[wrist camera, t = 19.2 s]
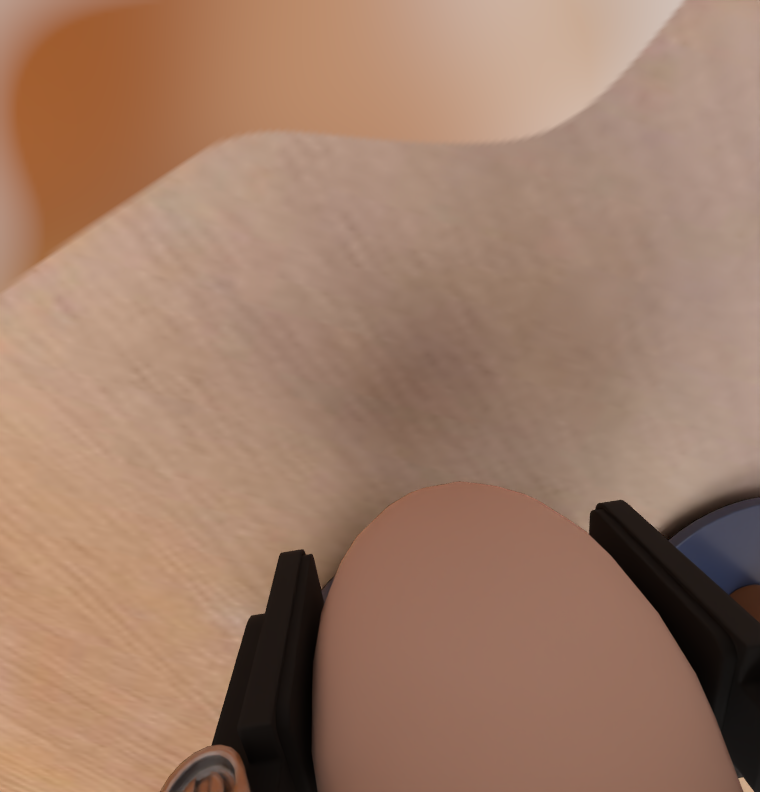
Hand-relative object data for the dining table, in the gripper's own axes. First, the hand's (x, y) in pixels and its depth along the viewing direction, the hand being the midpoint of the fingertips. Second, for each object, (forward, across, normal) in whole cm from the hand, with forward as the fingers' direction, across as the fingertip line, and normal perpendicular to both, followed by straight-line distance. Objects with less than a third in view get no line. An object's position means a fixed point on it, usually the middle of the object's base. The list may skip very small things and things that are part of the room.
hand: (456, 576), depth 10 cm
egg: (+3, 0, 0) cm, 3 cm away
